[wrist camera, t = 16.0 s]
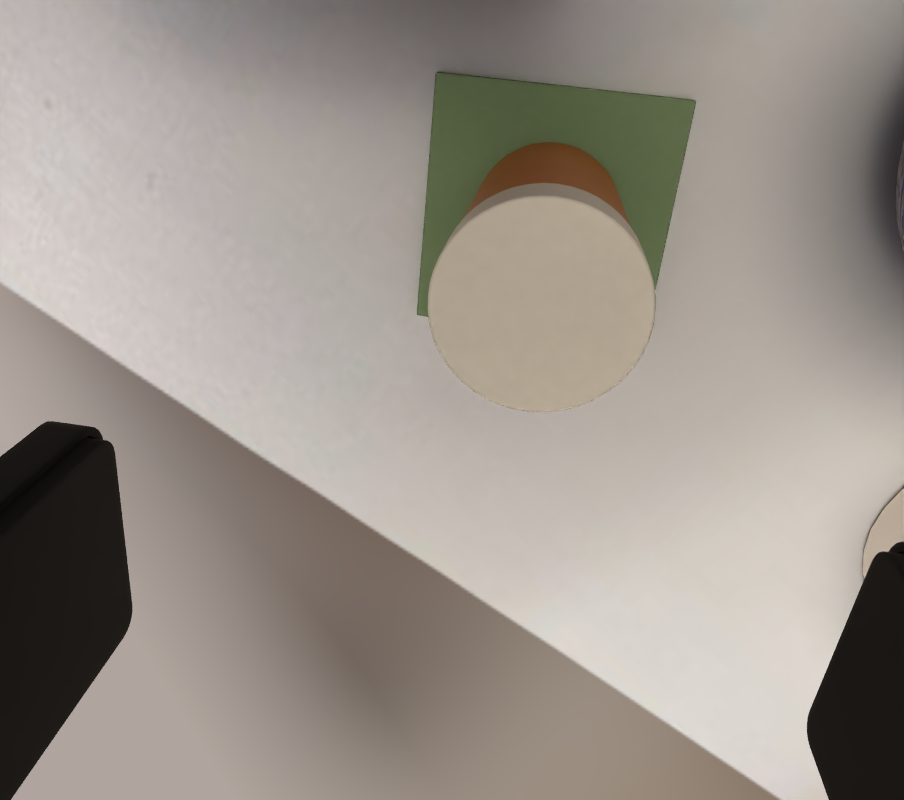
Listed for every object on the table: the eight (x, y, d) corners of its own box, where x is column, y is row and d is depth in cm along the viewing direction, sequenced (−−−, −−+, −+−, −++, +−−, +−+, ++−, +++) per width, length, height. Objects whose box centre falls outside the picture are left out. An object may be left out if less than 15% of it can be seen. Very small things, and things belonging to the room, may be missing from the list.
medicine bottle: (464, 281, 34) (418, 397, 23) (479, 130, 31) (437, 182, 20) (608, 299, 33) (631, 427, 22) (637, 148, 30) (679, 211, 20)
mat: (418, 312, 35) (416, 315, 35) (437, 71, 31) (435, 72, 30) (642, 341, 34) (643, 345, 34) (694, 99, 30) (696, 100, 30)
